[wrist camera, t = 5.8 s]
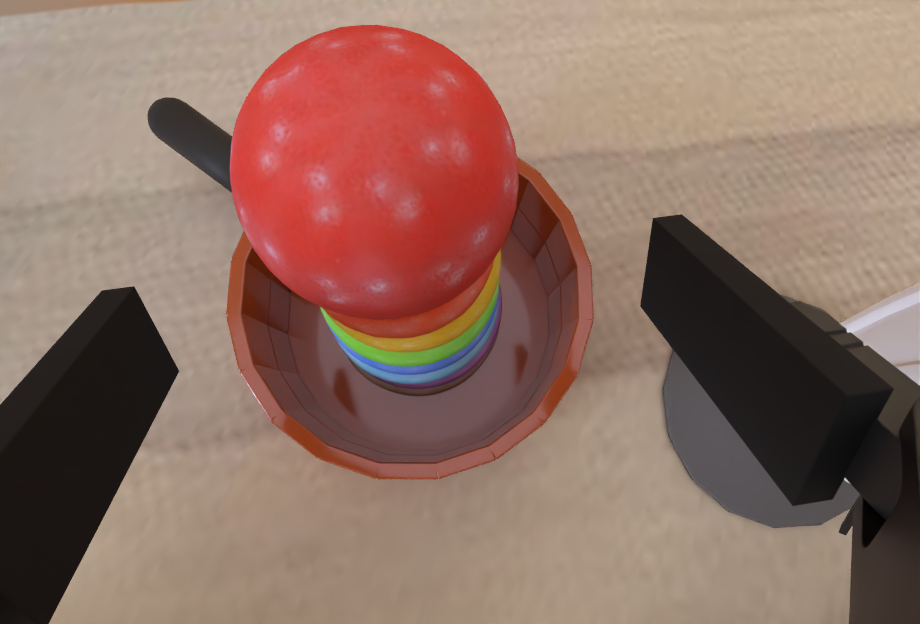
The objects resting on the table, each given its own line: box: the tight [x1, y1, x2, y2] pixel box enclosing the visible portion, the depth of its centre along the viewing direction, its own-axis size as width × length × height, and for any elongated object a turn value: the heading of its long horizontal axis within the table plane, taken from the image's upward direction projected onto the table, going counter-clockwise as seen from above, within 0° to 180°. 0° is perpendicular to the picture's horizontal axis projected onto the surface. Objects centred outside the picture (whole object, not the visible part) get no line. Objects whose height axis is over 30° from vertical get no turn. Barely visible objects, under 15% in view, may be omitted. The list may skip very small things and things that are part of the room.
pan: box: [226, 157, 593, 479], centre depth 23 cm, size 14×14×6 cm
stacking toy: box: [230, 25, 519, 395], centre depth 16 cm, size 8×8×19 cm
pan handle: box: [148, 98, 232, 192], centre depth 22 cm, size 8×2×2 cm, turn 54°
